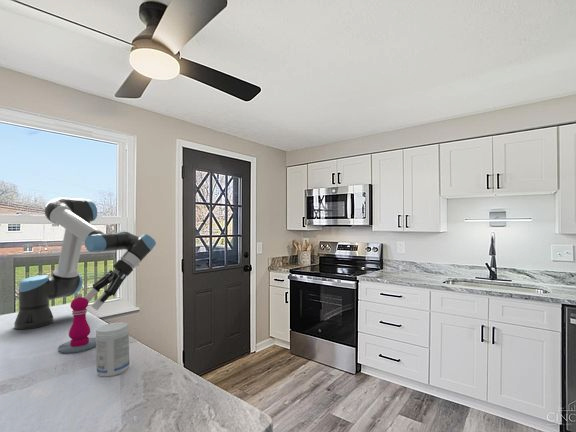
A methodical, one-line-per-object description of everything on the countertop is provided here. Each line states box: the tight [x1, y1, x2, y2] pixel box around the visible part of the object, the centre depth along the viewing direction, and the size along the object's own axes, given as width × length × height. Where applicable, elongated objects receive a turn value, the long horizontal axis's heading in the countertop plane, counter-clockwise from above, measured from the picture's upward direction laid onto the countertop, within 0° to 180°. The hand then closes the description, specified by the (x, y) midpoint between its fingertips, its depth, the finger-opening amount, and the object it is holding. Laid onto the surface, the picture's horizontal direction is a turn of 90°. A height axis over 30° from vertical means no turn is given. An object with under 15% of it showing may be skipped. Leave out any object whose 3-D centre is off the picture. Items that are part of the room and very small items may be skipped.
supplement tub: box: [95, 321, 130, 378], centre depth 105 cm, size 10×10×15 cm
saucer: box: [57, 337, 96, 355], centre depth 127 cm, size 14×14×1 cm
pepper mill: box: [68, 293, 91, 347], centre depth 127 cm, size 7×7×20 cm
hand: (88, 305), depth 129 cm, fingers open, 13 cm apart
